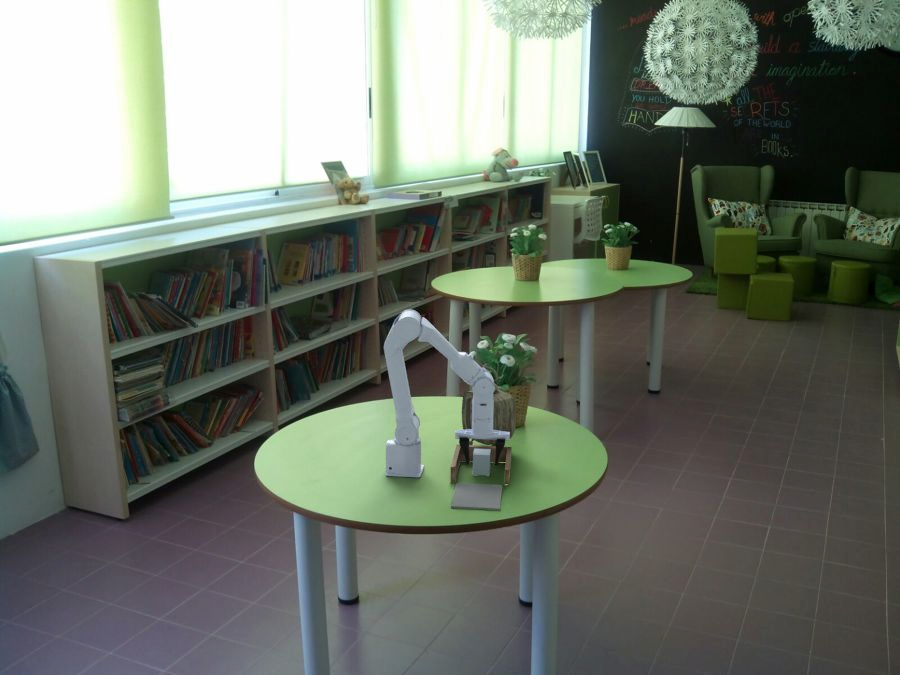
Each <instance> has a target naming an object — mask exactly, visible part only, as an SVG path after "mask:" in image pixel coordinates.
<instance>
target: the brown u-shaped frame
mask: <svg viewBox="0 0 900 675" xmlns="http://www.w3.org/2000/svg"><path fill="white" fill-rule="evenodd" d="M474 448H475V449H491V462H495V457H496V446H491V445H478V444H477V445H476V444H474V445H469V456H470V461H473V453H474ZM463 461H466V459H465V455H464V453H463V450H462V448H461V446H460V444H456V445H455V449H454V453H453V457H452V460H451V463H450V477H449V478H450V483H451V484H456V481H457V477H458V473H459V469H458V468H460V465H461V462H463ZM498 462H506V463H504V464H505V465H504V481H503V482H504V483H503V484H504V485H505V484H509V485H510V480H509V479H511V470H510V469H511V467H512V446H504V448H503V449H502V451H501V454H500V456H499V460H498ZM459 464H460V465H459Z"/></svg>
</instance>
